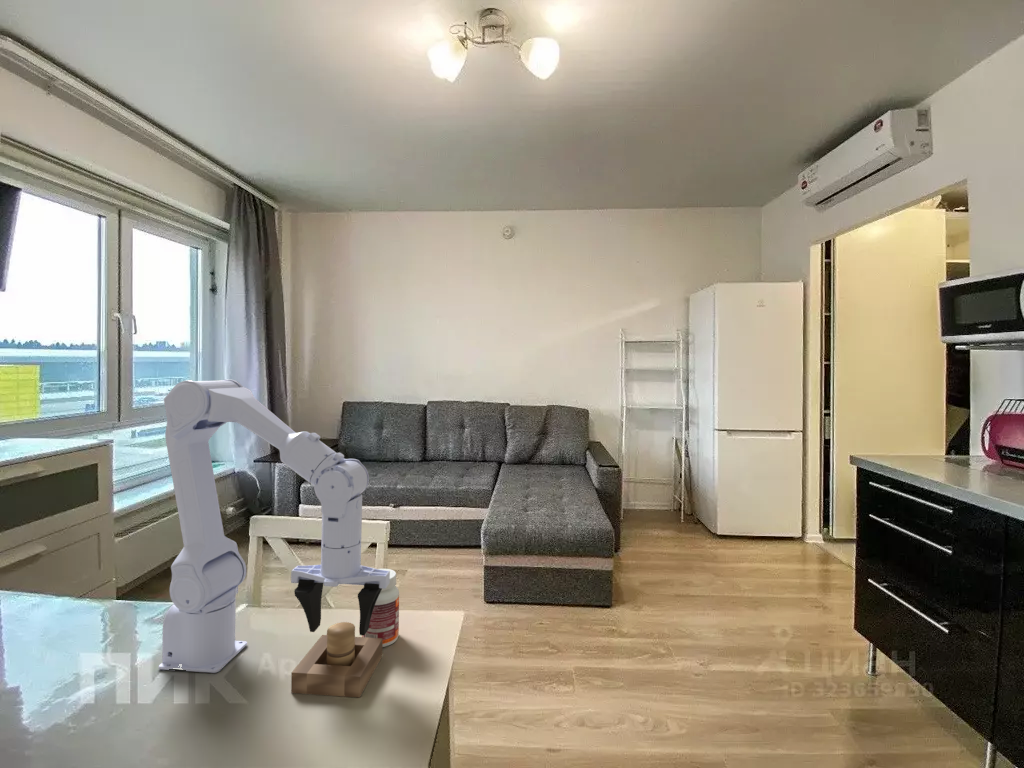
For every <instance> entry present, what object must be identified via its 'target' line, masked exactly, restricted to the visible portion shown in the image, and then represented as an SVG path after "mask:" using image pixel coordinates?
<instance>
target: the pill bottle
mask: <svg viewBox="0 0 1024 768" xmlns="http://www.w3.org/2000/svg"><path fill="white" fill-rule="evenodd" d="M378 569H379V570H385V571H390V583H389V584H388V586H387V587H386V589H383V588H382V590H381V592H380V594H379V596H378V599H377V601H376V603H375V606H374V609H373V612H372V615H371V619H370V624H369V629H368V631H367V632H366V634H365V635H361V637H367V638H383V645H382V648H385V647H388V646H391V645H393V644H395V642H397V640H398V638H399V634H400V633H399V630H400V628H399V627H400V623H399V622H400V619H399V618H400V591H399V588H398V587H397V586H396V585H397V573H396V571H395V570H393V569H390V568H378Z"/></svg>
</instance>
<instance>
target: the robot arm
mask: <svg viewBox="0 0 1024 768" xmlns="http://www.w3.org/2000/svg"><path fill="white" fill-rule="evenodd" d="M163 403H164V409H165V414H166V420H167V421H166V427H165V433H164V437H165V442H166V443H165V444H166V449H167V454H168V455H167V456H168V460H169V461H168V462H169V467H170V472H171V479H172V484H173V491H174V495H175V501H176V502H175V503H176V507H177V514H178V519H179V524H180V531H181V537H182V542H183V543H182V544H183V548H182V549H181V551H180V552H179V554H178V555H177V556H176V557H175V559H174V561H173V562H172V564H171V565H170V570H171V582H170V583H169V584H170V585H169V596H170V600H171V602H172V603H173V604H172V605H171V606H170V607H169V609H168V610H167V611H166V614H165V616H164V619H163V623H162V659H161V661H162V662H161V663H160V664H159V665H158V669H159V670H165V671H166V670H167V671H170V670H169V669H173V668H180V666H179V664H182V667H181V668H182V669H183V670H186V671H185V672H199V673H219V672H220V671H221V670H222V669H223V668H224V667H226V665H227V664H229V662H231V660H233V659H234V658H235V657H236V656H237V655H238V654H239V653H240V652H241V651H242V650H243V649H244V648H245V647H246V646H247V645H248V641H246V640H236V620H237V619H236V608H237V607H236V603H237V599H236V598H237V597H236V596H237V594H238V593H239V586H240V585H241V584H243V582H244V580H245V578H246V576H247V565H246V562H245V560H244V559H243V557H242V555H241V554H240V552H239V548H238V544H237V542H236V541H235V540H233V539H231V538H228V537H227V536H226V535H225V532H224V526H223V519H222V515H221V510H220V502H219V498H218V492H217V491H218V490H217V485H216V481H215V480H216V479H215V473H214V467H213V463H212V456H211V455H212V454H211V450H210V444H209V441H210V439H211V438H212V437H213V436H214V434H216V432H217V431H218V430H219V428H220V427H222V426H224V425H225V424H226V423H236V424H239V425H240V426H242V427H243V428H245V429H247V430H248V431H250V433H253V434H255V435H256V436H257V437H259V438H260V439H263V440H264V441H266V442H267V443H268V444H270V445H271V446H273V447H275V448H276V449H278V451H279V459H280V462H281V463H283V464H284V465H285V466H287V467H288V468H290V470H292V472H295V473H296V474H297V475H298V476H300V477H301V478H302V479H304V480H305V481H306V482H308V483H309V484H311V485H312V486H313V490H314V493H315V495H316V498H317V499H318V500H319V502H320V505H321V510H320V511H321V543H320V544H321V545H320V548H321V549H320V551H321V553H320V554H321V555H320V564H311V565H296V566H295V567H294V568H293V569H292V570H290V571H291V572H290V573H291V574H290V582H291V584H297V587H296V588H294V590H293V592H294V596H295V598H297V600H298V602H299V603H300V605H301V607H302V610H303V611H304V614H305V618H306V621H307V624H308V628H309V632H310V633H315V632H316V631H317V630H318V628H319V627H320V626H321V621H322V596H323V590H324V586H325V587H335V588H336V587H338V586H339V585H351V586H352V585H353V586H354V585H355V586H363V588H361V589H360V591H359V592H358V593H357V599H358V605H359V606H358V608H359V625H358V626H359V627H358V628H359V630H358V631H359V636H362V635H365V634H366V632H367V631H368V629H369V624H370V619H371V615H372V612H373V609H374V606H375V603H376V601H377V599H378V596H379V594H380V592H381V590H382V588H383V589H386V587H387V586H388V584H389V583H390V571H385V570H379V569H380V568H374V567H370V566H365V565H362V563H361V562H362V561H361V560H362V527H363V523H362V522H363V494H362V493H363V492H365V491H366V489H367V488H368V486H369V482H370V476H369V472H368V471H369V470H368V469H367V468H366V466H365V465H364V464H362V462H361V461H360V460H359V459H356V458H345V455H344V454H343V453H342V452H336V451H335V450H334V449H332V448H331V447H330V446H328V445H326V444H325V443H324V442H323V441H321V440H320V439H321V438H322V437H321V436H320V435H319V434H318V433H316V432H309V431H306V430H305V431H300V432H296V431H294V430H293V429H292V428H291V427H290V426H289V425H287V424H286V423H285V422H284V421H282V420H281V419H280V418H279V417H278V416H277V415H275V413H273V412H272V411H271V410H269V409H268V408H267V407H266V406H265V405H264V404H262V403H261V402H260V401H259V400H258V399H256V397H255V396H254V394H253V391H252V390H251V389H249V388H247V387H246V386H243V385H242V384H241V383H240V382H238V381H237V380H235V379H230V378H229V379H228V378H227V379H221V380H219V379H218V380H196V381H195V380H191V379H190V380H187V379H186V380H183V381H180V382H178V383H176V384H175V385H174V387H173V388H172V389H171V390H170V391H169V392H168V394H167V395H166V396H165V397H164V398H163ZM178 666H179V667H178Z"/></svg>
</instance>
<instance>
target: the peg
mask: <svg viewBox="0 0 1024 768" xmlns="http://www.w3.org/2000/svg"><path fill="white" fill-rule="evenodd" d="M326 635H327V665H337V666H351V665H352V663H353V662H354V658H355V637H356V626H355V624H354V623H351V622H347V621H346V622H345V621H343V622H342V621H341V622H337V623H334V624H332V625H330V626H329V627H328V628H327V630H326Z"/></svg>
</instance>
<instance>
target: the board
mask: <svg viewBox="0 0 1024 768" xmlns="http://www.w3.org/2000/svg"><path fill="white" fill-rule="evenodd" d="M382 645H383V638H367V637H362V636H355V658H354V662H353V663H352V665H351V666H337V665H327V634H322V635H321V636H320V637H319V638H318V639H317V641H316V642H315V643H314V644H313V646H312V647H311V648H310V649H309V650H308V652H307V653H306V654H305V656H304V657H303V658H302V659H301V660H300V662H299V663H298V664H297V665H296V666H295V668H294V669H293V670H292V671H291V676H290V677H291V680H290V682H291V684H290V689H291V691H290V693H291V694H302V695H303V694H304V695H316V696H332V697H346V698H347V697H348V698H358V699H360V698H361V696H362V694H363V692H364V691H365V689H366V687H367V685H368V684H369V682H370V680H371V678H372V676H373V674H374V672H375V671H376V669H377V667H378V665H379V663H380V662H381V660H382V657H383V647H382Z"/></svg>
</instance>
